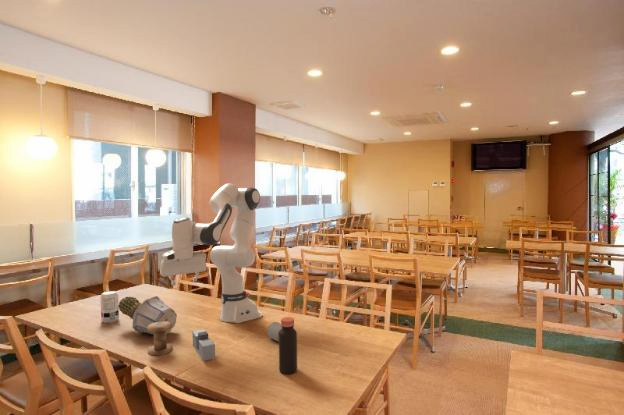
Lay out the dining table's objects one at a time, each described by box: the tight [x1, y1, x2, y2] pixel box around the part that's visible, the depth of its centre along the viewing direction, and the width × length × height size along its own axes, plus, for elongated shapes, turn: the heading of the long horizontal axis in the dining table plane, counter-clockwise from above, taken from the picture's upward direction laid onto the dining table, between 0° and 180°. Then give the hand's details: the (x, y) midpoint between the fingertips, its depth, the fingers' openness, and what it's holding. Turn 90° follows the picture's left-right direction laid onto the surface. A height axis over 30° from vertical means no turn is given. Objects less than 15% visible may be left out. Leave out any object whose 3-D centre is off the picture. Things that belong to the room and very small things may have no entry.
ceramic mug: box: [267, 321, 282, 343], centre depth 175 cm, size 11×8×8 cm
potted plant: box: [118, 295, 178, 336], centre depth 186 cm, size 18×18×30 cm
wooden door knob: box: [147, 321, 174, 356], centre depth 164 cm, size 10×10×11 cm
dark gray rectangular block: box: [198, 330, 209, 349], centre depth 163 cm, size 4×4×7 cm
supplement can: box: [100, 290, 120, 324], centre depth 201 cm, size 8×8×15 cm
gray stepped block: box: [192, 328, 216, 362], centre depth 163 cm, size 5×19×6 cm, turn 29°
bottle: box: [278, 316, 298, 375], centre depth 145 cm, size 7×7×20 cm
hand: (184, 283), depth 174 cm, fingers open, 8 cm apart
